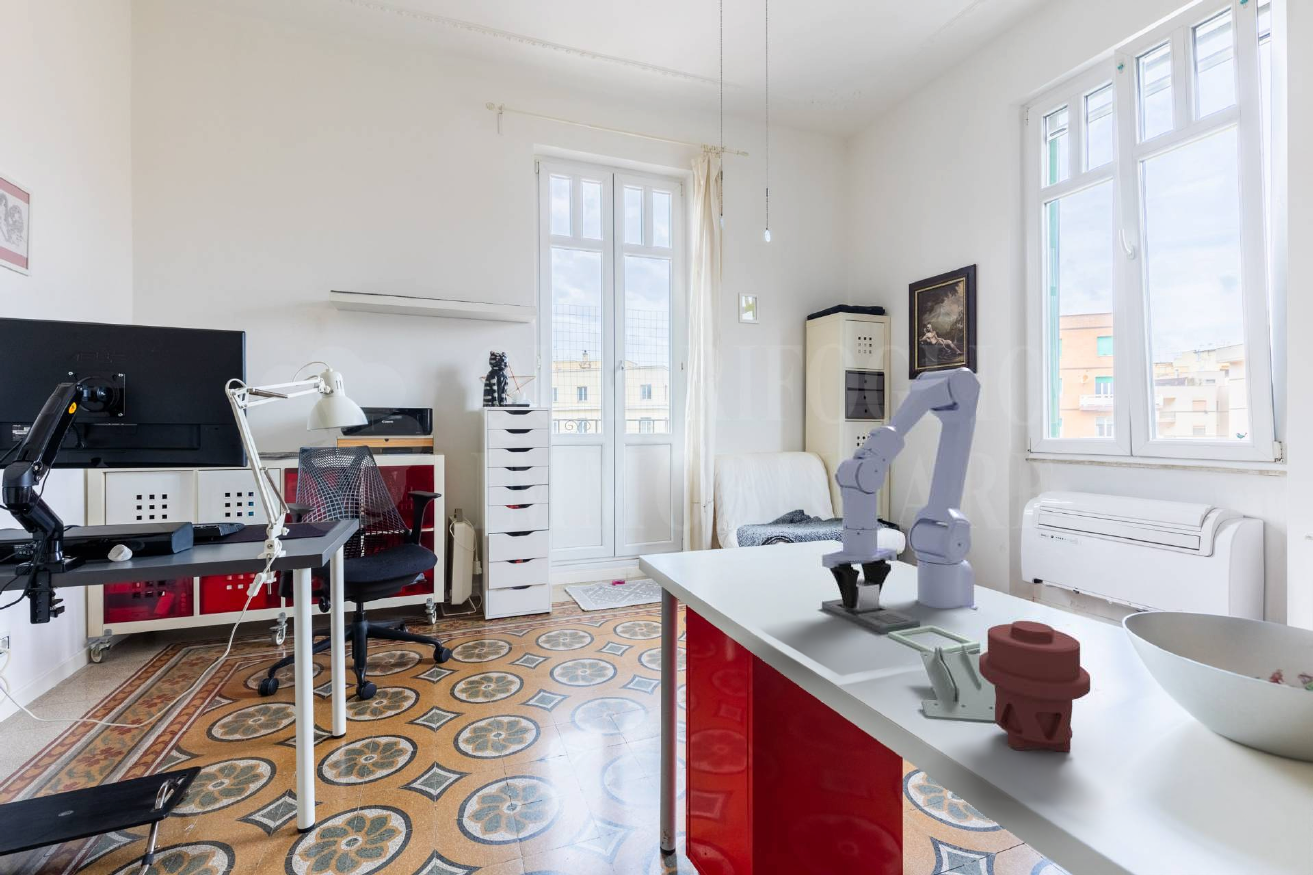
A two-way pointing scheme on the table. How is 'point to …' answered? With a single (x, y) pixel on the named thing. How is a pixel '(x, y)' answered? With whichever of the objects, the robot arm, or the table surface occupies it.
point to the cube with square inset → (865, 597)
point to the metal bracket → (958, 688)
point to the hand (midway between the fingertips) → (860, 604)
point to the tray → (967, 642)
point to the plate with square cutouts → (874, 618)
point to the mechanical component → (1034, 683)
